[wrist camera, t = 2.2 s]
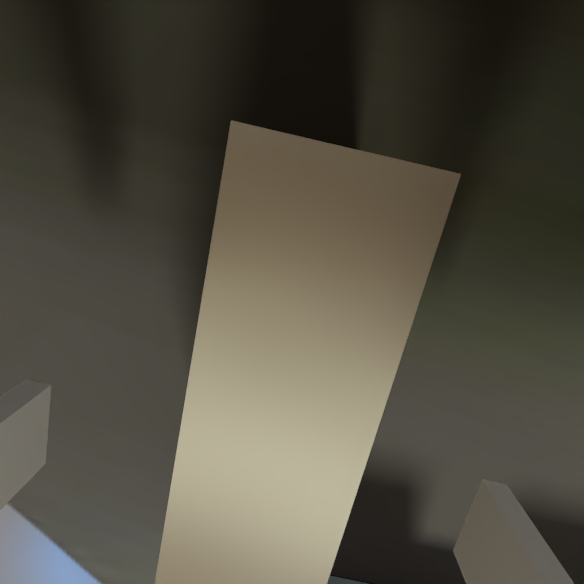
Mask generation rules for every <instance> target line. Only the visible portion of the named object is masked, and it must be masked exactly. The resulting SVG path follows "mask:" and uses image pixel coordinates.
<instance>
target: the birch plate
mask: <svg viewBox="0 0 584 584" xmlns="http://www.w3.org/2000/svg"><path fill="white" fill-rule="evenodd" d="M460 176H461V174H459V173H455V172H450V171H446V170H442V169H437V168H433V167H429V166H425V165H420V164H416V163H412V162H407V161H403V160H399V159H395V158H390V157H386V156H382V155H377V154H373V153H369V152H365V151H360V150H356V149H352V148H347V147H343V146H339V145H335V144H330V143H326V142H322V141H317V140H313V139H309V138H305V137H300V136H296V135H292V134H287V133H283V132H279V131H275V130H270V129H266V128H262V127H257V126H253V125H249V124H245V123H240V122H236V121H232V120H231V124H230V130H229V136H228V142H227V148H226V154H225V160H224V166H223V172H222V178H221V184H220V190H219V196H218V203H217V209H216V215H215V221H214V227H213V233H212V239H211V245H210V251H209V257H208V263H207V269H206V276H205V282H204V288H203V294H202V300H201V306H200V312H199V318H198V324H197V330H196V336H195V342H194V349H193V355H192V361H191V367H190V373H189V379H188V385H187V391H186V397H185V403H184V409H183V415H182V422H181V428H180V434H179V440H178V446H177V452H176V458H175V464H174V470H173V476H172V482H171V488H170V495H169V501H168V507H167V513H166V519H165V525H164V531H163V537H162V543H161V549H160V555H159V561H158V567H157V574H156V580H155V584H327V582H328V579H329V576H330V573H331V570H332V567H333V564H334V561H335V558H336V555H337V552H338V549H339V546H340V542H341V539H342V536H343V533H344V530H345V527H346V524H347V521H348V518H349V515H350V512H351V509H352V506H353V503H354V500H355V497H356V494H357V491H358V488H359V484H360V481H361V478H362V475H363V472H364V469H365V466H366V463H367V460H368V457H369V454H370V451H371V448H372V445H373V442H374V439H375V436H376V433H377V429H378V426H379V423H380V420H381V417H382V414H383V411H384V408H385V405H386V402H387V399H388V396H389V393H390V390H391V387H392V384H393V381H394V378H395V374H396V371H397V368H398V365H399V362H400V359H401V356H402V353H403V350H404V347H405V344H406V341H407V338H408V335H409V332H410V329H411V326H412V323H413V319H414V316H415V313H416V310H417V307H418V304H419V301H420V298H421V295H422V292H423V289H424V286H425V283H426V280H427V277H428V274H429V271H430V268H431V264H432V261H433V258H434V255H435V252H436V249H437V246H438V243H439V240H440V237H441V234H442V231H443V228H444V225H445V222H446V219H447V216H448V213H449V209H450V206H451V203H452V200H453V197H454V194H455V191H456V188H457V185H458V182H459V179H460Z"/></svg>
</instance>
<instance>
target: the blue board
mask: <svg viewBox="0 0 584 584" xmlns="http://www.w3.org/2000/svg"><path fill="white" fill-rule="evenodd" d="M327 584H368V583H363V582H359V581H354V580H349V579H344V578H339V577H335V576H329V579H328V582H327Z"/></svg>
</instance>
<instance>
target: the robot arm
mask: <svg viewBox="0 0 584 584" xmlns="http://www.w3.org/2000/svg"><path fill="white" fill-rule="evenodd" d="M50 395H51V385H49V384H44V383H39V382H35V381H30V380H26V379H25V380H24V381H22V382H21V383H19V384H18V385H16V386H15V387H13V388H12V389H10V390H9V391H7V392H6V393H4V394H3V395H1V396H0V510H1V509H2V508H3V507H4V506H5V505H6V504H7V503H8V502H9V501H10V500H11V499H12V497H13V496H14V495H15V494H16V493H17V492H18V491H19V490H20V489H21V488H22V487H23V486H24V485H25V484H26V483H27V482H28V481H29V480H30V479H31V478H32V477H33V476H34V475H35V474H36V473H37V472H38V471H39V470H40V468H41V467H42V466H43V465H44V464H45V463H46V453H47V438H48V424H49V409H50ZM453 552H454V555H455V557H456V560H457V562H458V565H459V567H460V570H461V572H462V575H463V577H464V580H465V582H466V584H574V583H573V581H572V580H571V578H570V577H569V575H568V574H567V572H566V571H565V569H564V568H563V566H562V565H561V563H560V562H559V560H558V559H557V558H556V556H555V555H554V553H553V552H552V550H551V549H550V547H549V546H548V544H547V543H546V541H545V540H544V538H543V537H542V536H541V534H540V533H539V531H538V530H537V528H536V527H535V525H534V524H533V522H532V521H531V519H530V518H529V516H528V515H527V514H526V512H525V511H524V509H523V508H522V506H521V505H520V503H519V502H518V500H517V499H516V497H515V496H514V494H513V493H512V491H511V490H510V489H509V487H508V486H507V485H506V484H501V483H497V482H492V481H488V480H483V479H482V481H481V484H480V486H479V488H478V491H477V493H476V496H475V498H474V500H473V503H472V505H471V508H470V510H469V512H468V515H467V517H466V520H465V522H464V525H463V527H462V529H461V532H460V534H459V537H458V539H457V541H456V544H455V546H454V549H453Z"/></svg>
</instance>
